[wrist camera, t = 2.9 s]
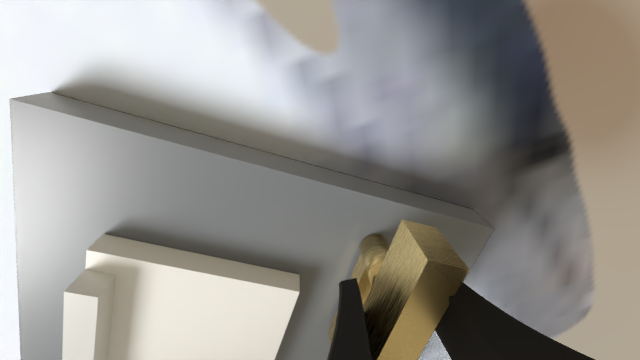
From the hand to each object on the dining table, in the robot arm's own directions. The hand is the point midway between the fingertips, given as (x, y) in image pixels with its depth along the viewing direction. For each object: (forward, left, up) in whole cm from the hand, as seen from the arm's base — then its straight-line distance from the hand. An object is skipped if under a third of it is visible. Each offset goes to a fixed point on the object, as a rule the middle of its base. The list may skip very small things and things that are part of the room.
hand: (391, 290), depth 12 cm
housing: (-6, +5, -5) cm, 9 cm away
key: (-1, 0, -3) cm, 3 cm away
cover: (-8, +7, -3) cm, 11 cm away
